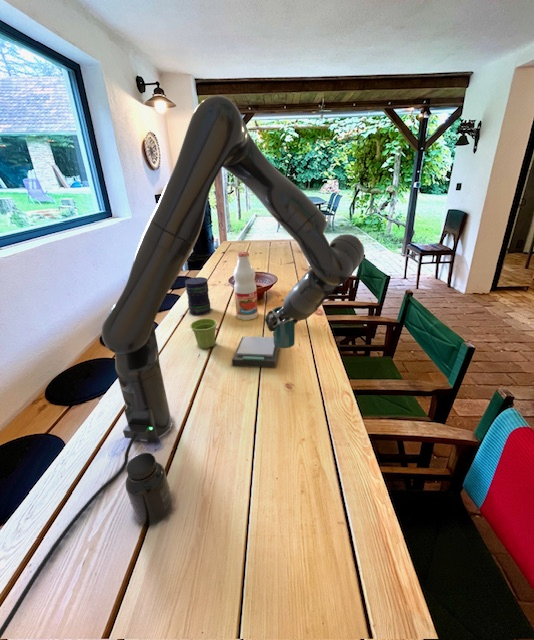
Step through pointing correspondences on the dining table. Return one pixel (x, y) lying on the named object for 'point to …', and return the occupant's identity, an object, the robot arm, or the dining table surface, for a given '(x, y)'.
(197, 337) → the plant pot
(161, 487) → the supplement bottle
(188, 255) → the robot arm
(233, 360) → the scale
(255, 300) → the fruit juice
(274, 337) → the tumbler
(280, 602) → the dining table surface
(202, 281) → the storage jar
